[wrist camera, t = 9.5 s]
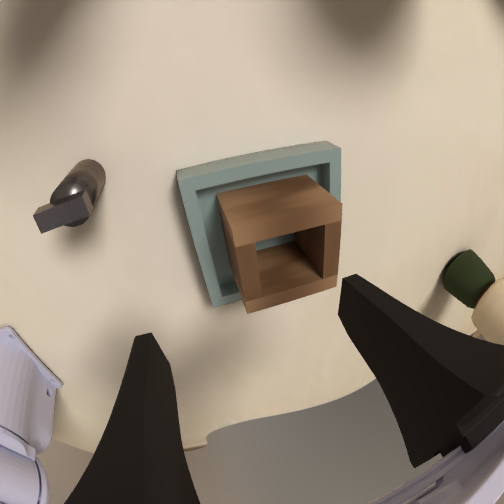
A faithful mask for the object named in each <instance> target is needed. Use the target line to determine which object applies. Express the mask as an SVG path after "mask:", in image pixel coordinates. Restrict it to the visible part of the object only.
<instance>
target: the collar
mask: <svg viewBox="0 0 504 504" xmlns="http://www.w3.org/2000/svg"><path fill="white" fill-rule="evenodd" d="M216 196H217V201H218V206H219V211H220V217H221V222H222V227H223V232H224V237H225V242H226V247H227V252H228V257H229V261H230V266H231V270H232V273H233V276H234V279H235V281H236V284H237V287H238V289H239V292H240V295H241V298H242V300H243V303H244V306H245V308H246V311H247V314H249V313H252V312H256V311H259V310H262V309H266V308H269V307H273V306H276V305H279V304H283V303H286V302H289V301H292V300H296V299H299V298H302V297H305V296H308V295H312V294H315V293H318V292H321V291H324V290H327V289H330V288H333V287H336V285H337V275H338V264H339V251H340V237H341V221H342V203H341V202H340V201H338V200H337V199H336V198H335V197H334V196H332V195H331V194H330V193H329V192H328V191H326V190H325V189H324V188H323V187H322V186H320V185H319V184H318V183H317V182H315V181H314V180H313V179H312V178H310V177H309V176H308V175H307V174H306V175H301V176H296V177H290V178H285V179H280V180H275V181H270V182H266V183H261V184H256V185H252V186H247V187H243V188H238V189H234V190H229V191H225V192H221V193H216ZM294 232H295V241H291V242H287V243H284V244H280V245H276V246H272V247H268V248H265V249H261V250H257V251H256V246H255V242H258V241H262V240H266V239H270V238H274V237H278V236H282V235H286V234H290V233H294Z"/></svg>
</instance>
